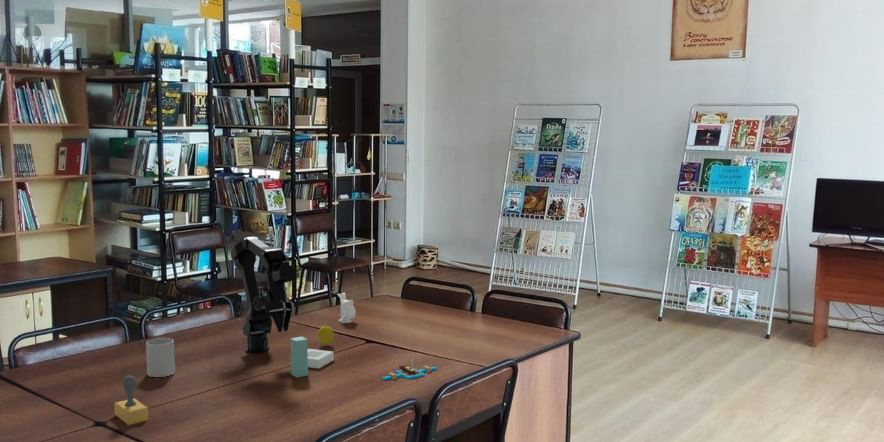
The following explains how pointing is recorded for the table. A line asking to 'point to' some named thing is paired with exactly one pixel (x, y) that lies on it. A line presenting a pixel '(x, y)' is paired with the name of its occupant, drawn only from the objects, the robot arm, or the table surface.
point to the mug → (160, 357)
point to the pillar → (299, 356)
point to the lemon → (325, 335)
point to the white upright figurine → (346, 309)
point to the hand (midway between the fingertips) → (283, 331)
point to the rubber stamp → (130, 404)
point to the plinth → (319, 358)
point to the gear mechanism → (409, 372)
